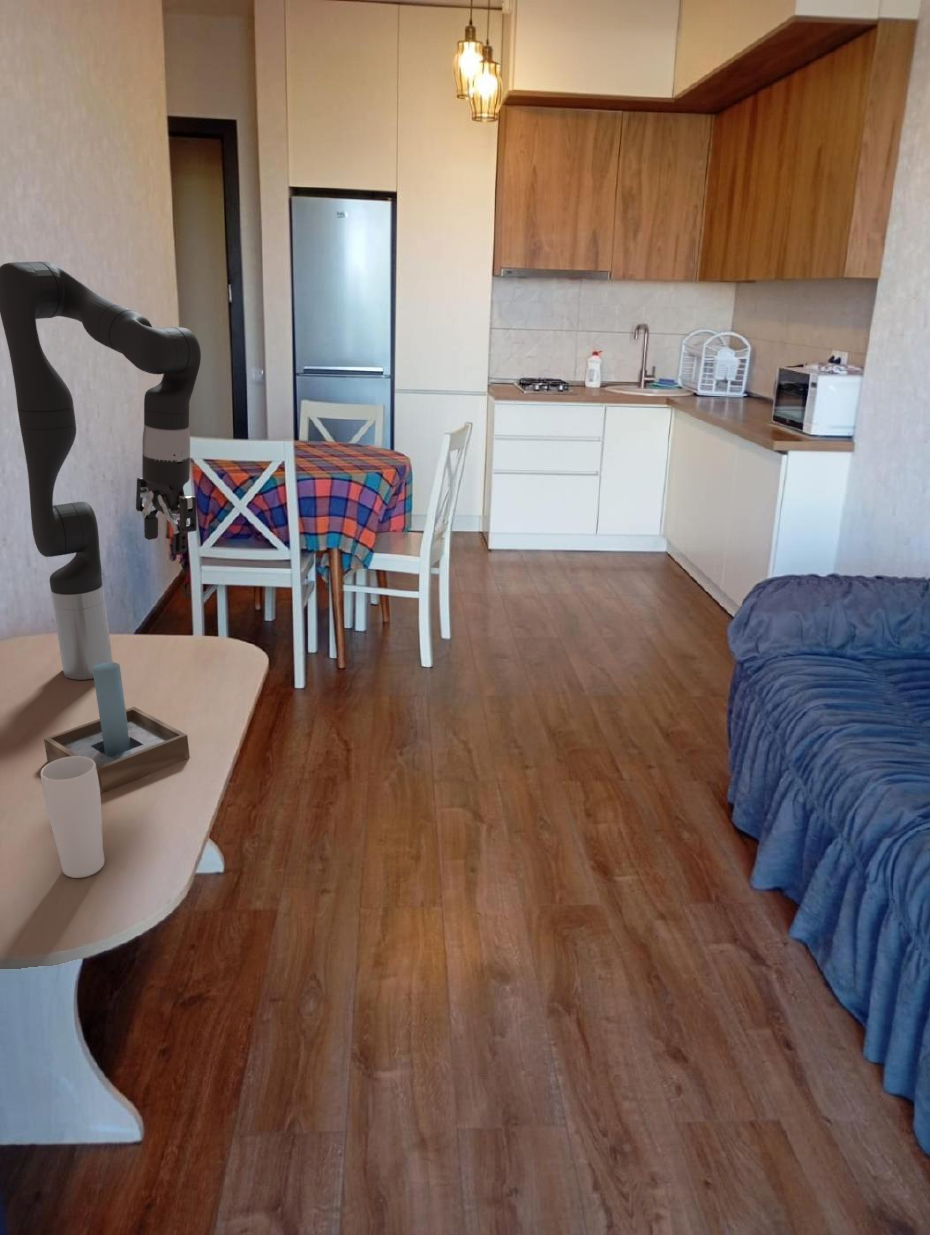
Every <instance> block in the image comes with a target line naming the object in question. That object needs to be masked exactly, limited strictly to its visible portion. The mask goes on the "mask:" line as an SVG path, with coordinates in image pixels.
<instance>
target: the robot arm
mask: <svg viewBox="0 0 930 1235" xmlns="http://www.w3.org/2000/svg"><path fill="white" fill-rule="evenodd" d="M55 317H63V318H68V319H72V320H75V321H79V322H80V323H82V325H83V328H84V330H85V331H86V333H87V334H88V335H89V337H91V338H92V339H93V340H94V341H96V342H98V343H99V344H101V345H102V346H105V347H107V348H108V349H110V350H113V351H115V352H118V353H120V354H122V355H123V356H124V357H125V358H126V359H127V360H128V361H129V362H131V364H132V365H133V366H134V367H136V368H137V369H138V370H140V371H142V372H144V373H147V374H151V375H163V376H162V379H161V381H160V382H159V383H158V384H157V385H155V386H153V387H151V388H149V389H147V390H146V391H145V394H144V399H143V424H144V425H143V431H142V443H141V444H142V449H141V450H142V451H141V452H142V456H141V458H142V467H141V468H142V471H141V472H142V477H137V479H136V494H135V498H136V499H135V509H136V511H137V512H141V517H142V518H143V520H144V522H143V524H144V527H143V529H144V530H143V531H144V532H143V533H144V538H145V539H146V540H149V541H150V540H155V539H157V538H158V537H159V517H158V516H159V514H160V512H161V513H162V514H163V515H165V519H166V521H168V522H169V523H170V524H171V527H172V529H173V535H172V553H173V554H175V555H176V556H177V555H178V556H179V555H183V554H186V553H187V550H188V534H189V533H191V532H196V531H197V528H198V525H197V523H198V522H197V498H196V496H195V495H191V496H190V495H189V496H188V495H186V494H185V491H184V486H185V485H186V484H187V483H189V481H190V473H191V472H190V471H191V467H190V466H191V465H190V464H191V434H190V400H191V397H192V395H193V392H194V388H195V384H196V381H197V376H198V374H199V370H200V365H201V360H202V359H201V358H202V357H201V356H202V352H201V347H200V346H201V345H200V343H199V340H198V338H197V336H196V335H195V334H194V333H193V331H191V330H190V329H189V328H185V327H181V326H179V327H177V326H174V327H153V326H152V323H151V322H150V320H148V318H147V317H145V316H143V315H142V314H140V313H139V312H136V311H134V310H131V309H130V308H127V307H126V306H123V305H120V304H118V303H117V302H114V301H111V300H110V299H108V298H106V297H104V296H103V295H101V294H99V293H98V292H95V291H94V289H91V288H90V287H89V286H87V285H86V284H84V283H83V282H82V281H80V280H79V279H77V278H76V277H74V276H73V275H72V274H71V273H69V272H67V270H64V269H63V268H61V267H60V266H59V265H56V264H55V263H51V262H48V261H22V262H20V261H19V262H18V261H16V262H7V263H3V264H2V265H0V318H1V323H2V326H3V330H4V334H5V340H6V344H7V347H8V352H9V357H10V363H11V369H12V375H13V376H12V377H13V381H14V388H15V396H16V397H15V398H16V405H17V406H16V407H17V414H18V421H19V427H20V433H21V438H22V443H23V444H22V445H23V448H24V449H23V450H24V455H25V457H24V458H25V463H26V470H27V478H28V489H29V490H28V491H29V504H30V517H31V518H30V519H31V528H32V534H33V540H34V544H35V546H36V549H37V551H38V552H39V554H41V555H42V556H43V557H46V558H51V557H58V556H64V555H70V554H75V555H74V557H73V558H72V559H71V560H70V561H69V562H68V563H66V564H65V565H63V566H62V567H60V568H58V569H57V570H55V571H53V572H52V574H50V576H49V587H50V593H51V600H52V606H53V612H54V618H55V625H56V632H57V639H58V645H59V654H60V660H61V666H62V671H63V676H64V677H65V678H68V679H71V680H92V679H94V675H93V667H94V666H96V665H98V664H102V663H108V662H113V661H114V660H113V659H114V658H113V652H112V644H111V643H112V642H111V637H110V630H109V621H108V615H107V608H106V607H107V606H106V601H105V600H106V599H105V593H104V586H103V585H104V584H103V578H102V575H103V573H102V570H103V569H102V561H101V551H100V540H99V539H100V536H99V526H98V520H97V517H96V514H95V511H94V508H92V506H91V505H90V503H88V502H86V501H77V502H75V501H74V502H69V503H62V504H55V505H53V504H54V502H53V501H54V500H53V499H54V490H55V484H56V481H57V479H58V478H57V477H58V475H59V472H60V471H61V468H62V466H63V464H64V463H65V461H66V458H67V457H68V455H69V454H70V452H71V449H72V446H73V445H74V442H75V440H76V438H77V437H76V436H77V423H76V415H75V414H76V413H75V409H74V408H75V407H74V400H73V396H72V394H71V391H70V389H69V388H68V386H67V384H66V383H65V381H64V380H63V378H62V377H61V375H60V374H59V373H58V372H57V371H56V369H55V368H54V366H53V365H52V364H51V362H50V360H49V359H48V358H47V356H46V355H45V354H46V353H44V351H43V349H42V345H41V341H40V337H39V332H38V328H37V320H38V319H39V320H40V319H42V320H43V319H53V318H55ZM144 499H145V502H144V503H143V501H144ZM178 512H179V513H178ZM188 519H189V521H188ZM178 521H179V523H178Z"/></svg>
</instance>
